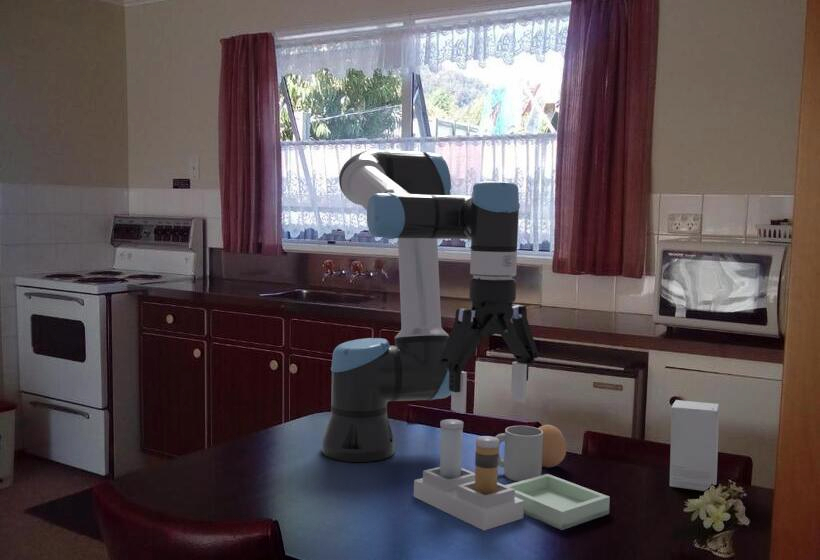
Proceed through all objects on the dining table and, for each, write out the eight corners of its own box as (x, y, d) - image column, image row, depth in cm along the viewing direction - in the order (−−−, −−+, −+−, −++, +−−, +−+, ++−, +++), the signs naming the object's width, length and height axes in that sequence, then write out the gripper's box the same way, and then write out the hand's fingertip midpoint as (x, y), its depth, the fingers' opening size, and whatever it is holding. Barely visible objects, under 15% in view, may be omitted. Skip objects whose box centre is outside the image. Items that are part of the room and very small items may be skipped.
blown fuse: (469, 496, 130) (471, 438, 129) (485, 492, 132) (487, 434, 131) (485, 503, 127) (487, 443, 126) (501, 499, 129) (503, 440, 128)
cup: (537, 484, 145) (539, 438, 145) (485, 477, 149) (487, 431, 148) (544, 472, 152) (546, 428, 152) (494, 466, 156) (495, 422, 155)
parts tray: (500, 503, 135) (500, 486, 135) (546, 489, 143) (547, 473, 143) (561, 530, 125) (562, 512, 124) (609, 513, 132) (609, 496, 132)
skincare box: (717, 483, 148) (721, 403, 147) (714, 494, 142) (719, 411, 141) (671, 476, 152) (675, 398, 151) (666, 486, 146) (671, 405, 145)
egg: (561, 474, 151) (563, 432, 151) (524, 469, 154) (526, 427, 153) (568, 464, 158) (570, 422, 157) (532, 458, 161) (534, 418, 160)
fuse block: (413, 496, 138) (415, 420, 136) (452, 486, 143) (454, 413, 142) (483, 530, 124) (486, 445, 122) (523, 518, 129) (526, 436, 128)
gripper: (450, 281, 116) (446, 421, 117) (562, 277, 131) (557, 401, 133) (418, 277, 122) (415, 411, 123) (529, 274, 137) (525, 392, 139)
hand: (489, 406), depth 128 cm, fingers open, 13 cm apart
